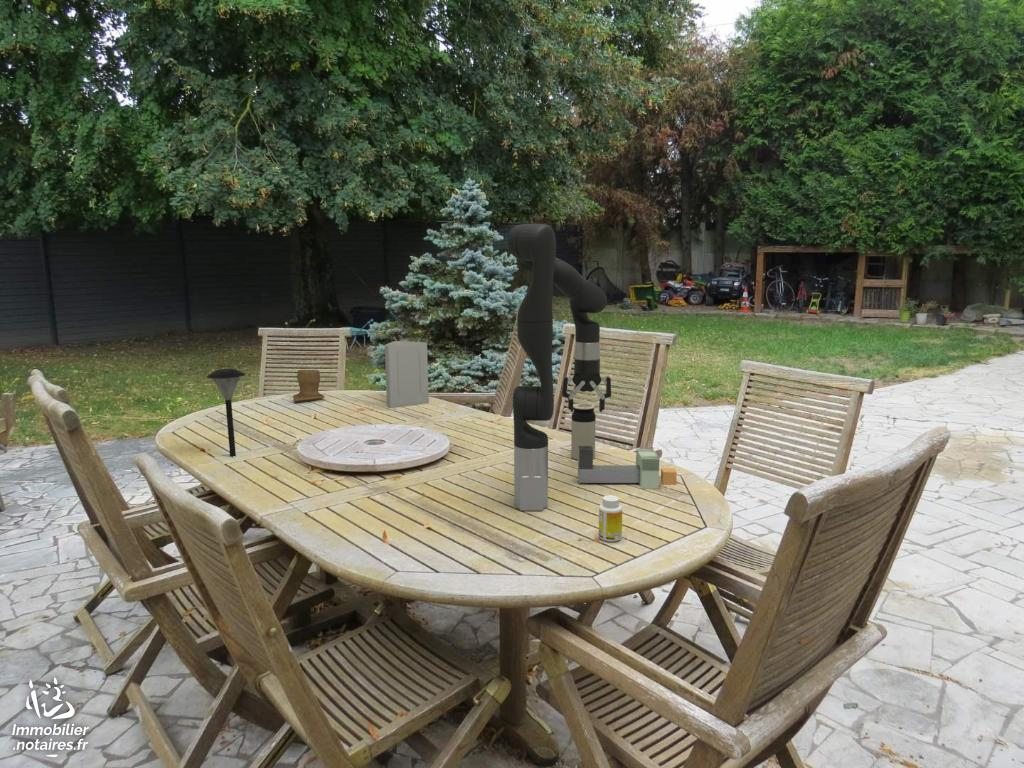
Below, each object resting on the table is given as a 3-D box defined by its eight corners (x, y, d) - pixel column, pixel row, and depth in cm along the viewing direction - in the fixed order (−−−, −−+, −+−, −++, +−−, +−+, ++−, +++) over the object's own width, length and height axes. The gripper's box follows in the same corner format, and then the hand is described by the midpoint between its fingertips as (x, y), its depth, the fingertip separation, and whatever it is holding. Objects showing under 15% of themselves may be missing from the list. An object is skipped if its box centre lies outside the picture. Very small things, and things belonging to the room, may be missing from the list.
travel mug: (598, 456, 234) (599, 404, 231) (588, 462, 227) (589, 409, 224) (577, 452, 238) (578, 402, 235) (567, 458, 231) (567, 406, 228)
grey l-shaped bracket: (652, 482, 205) (654, 449, 203) (579, 482, 205) (579, 449, 203) (650, 478, 209) (651, 446, 207) (577, 478, 209) (578, 446, 207)
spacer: (662, 484, 205) (676, 485, 205) (663, 472, 204) (676, 472, 204) (660, 480, 209) (673, 480, 209) (661, 468, 208) (674, 468, 208)
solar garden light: (212, 454, 239) (204, 369, 233) (249, 449, 244) (243, 366, 238) (215, 463, 228) (207, 374, 222) (254, 458, 233) (247, 371, 228)
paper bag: (416, 397, 331) (414, 339, 326) (429, 403, 318) (427, 343, 313) (378, 402, 321) (376, 342, 316) (390, 408, 309) (388, 346, 303)
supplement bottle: (626, 537, 167) (627, 497, 165) (612, 544, 163) (613, 503, 161) (607, 531, 171) (608, 492, 169) (593, 538, 167) (594, 498, 165)
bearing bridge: (658, 488, 202) (659, 459, 200) (641, 488, 202) (642, 459, 200) (651, 476, 212) (652, 448, 210) (635, 476, 212) (636, 448, 211)
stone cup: (318, 396, 336) (316, 365, 333) (327, 400, 326) (325, 369, 323) (287, 400, 327) (285, 369, 324) (295, 404, 317) (293, 372, 315)
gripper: (563, 359, 197) (562, 414, 200) (613, 359, 196) (612, 414, 199) (562, 355, 204) (561, 408, 207) (610, 355, 204) (608, 408, 207)
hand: (586, 411), depth 203 cm, fingers open, 8 cm apart
